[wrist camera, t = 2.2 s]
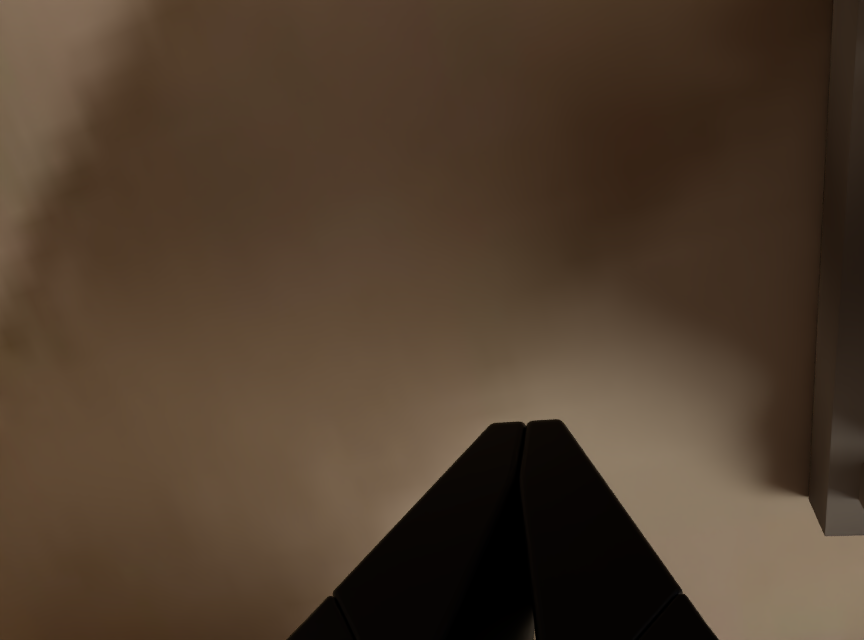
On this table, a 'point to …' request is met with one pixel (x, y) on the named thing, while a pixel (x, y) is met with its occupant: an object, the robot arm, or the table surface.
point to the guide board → (841, 291)
